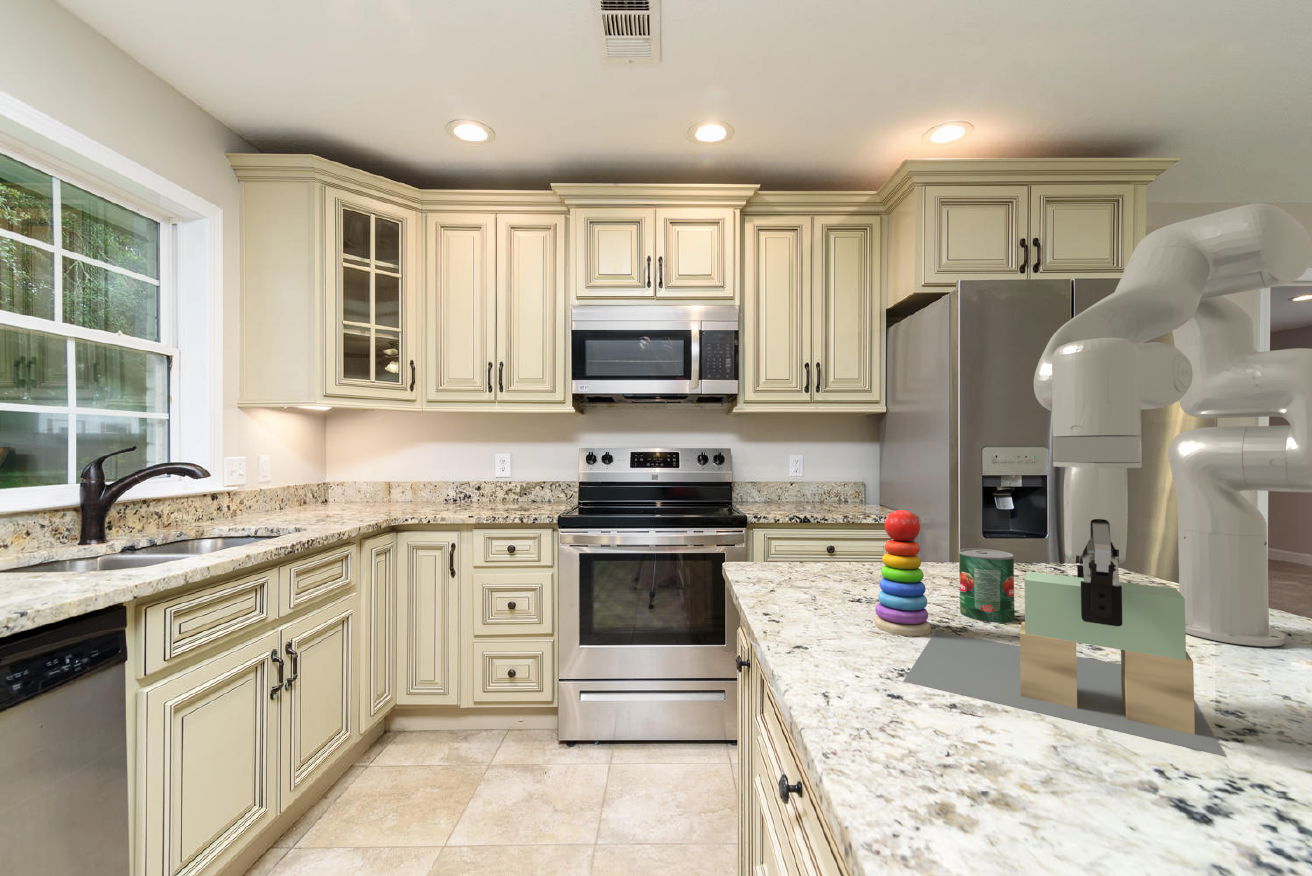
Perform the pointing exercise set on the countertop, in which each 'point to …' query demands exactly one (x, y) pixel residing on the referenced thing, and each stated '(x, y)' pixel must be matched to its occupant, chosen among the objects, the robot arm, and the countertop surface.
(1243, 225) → the robot arm
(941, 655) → the mat
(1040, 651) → the pillar
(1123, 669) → the pillar
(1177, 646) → the beam
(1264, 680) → the countertop surface
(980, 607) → the canned tomato
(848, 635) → the countertop surface
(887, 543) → the stacking toy
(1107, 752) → the countertop surface
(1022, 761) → the countertop surface
